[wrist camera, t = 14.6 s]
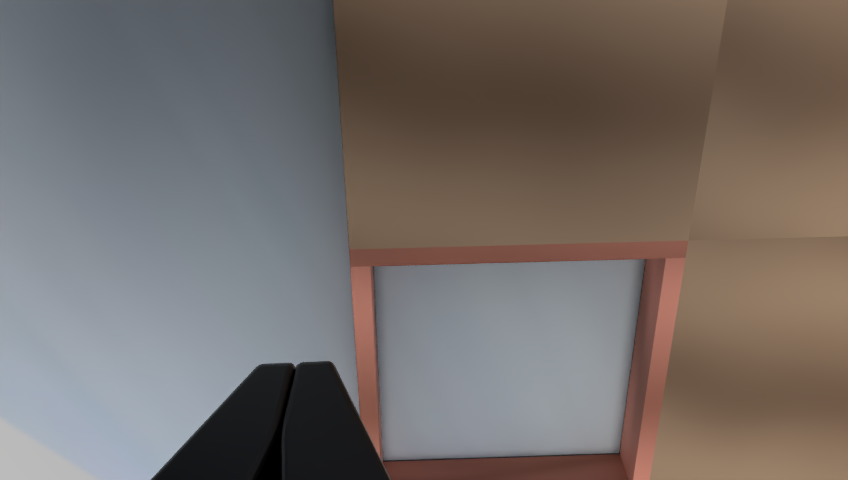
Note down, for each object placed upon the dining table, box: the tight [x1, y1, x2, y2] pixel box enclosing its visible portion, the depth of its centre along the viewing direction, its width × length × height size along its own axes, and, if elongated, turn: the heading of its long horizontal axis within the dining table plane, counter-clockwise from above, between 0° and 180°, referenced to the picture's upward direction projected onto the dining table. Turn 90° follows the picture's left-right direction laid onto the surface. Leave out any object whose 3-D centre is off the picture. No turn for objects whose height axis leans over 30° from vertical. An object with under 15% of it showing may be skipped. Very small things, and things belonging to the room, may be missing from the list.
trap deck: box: [333, 0, 848, 480], centre depth 21 cm, size 18×26×2 cm
